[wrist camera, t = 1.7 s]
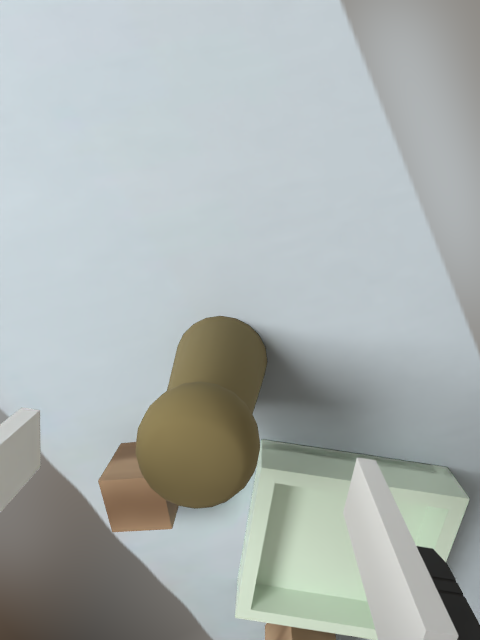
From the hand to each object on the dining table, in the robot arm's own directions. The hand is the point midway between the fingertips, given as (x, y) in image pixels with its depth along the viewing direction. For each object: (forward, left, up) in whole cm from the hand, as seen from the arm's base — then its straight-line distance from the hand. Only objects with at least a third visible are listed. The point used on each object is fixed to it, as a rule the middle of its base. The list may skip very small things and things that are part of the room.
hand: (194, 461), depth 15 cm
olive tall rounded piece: (0, 0, -10) cm, 10 cm away
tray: (+12, +10, -10) cm, 18 cm away
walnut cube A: (+9, -4, -10) cm, 14 cm away
